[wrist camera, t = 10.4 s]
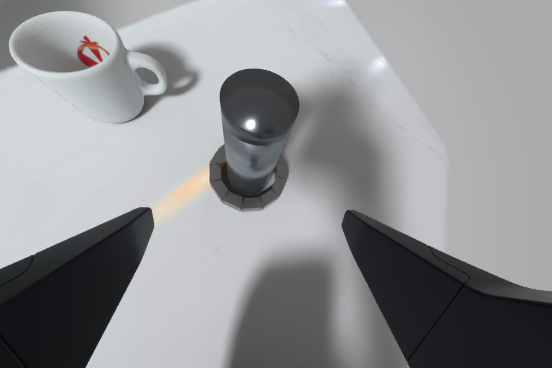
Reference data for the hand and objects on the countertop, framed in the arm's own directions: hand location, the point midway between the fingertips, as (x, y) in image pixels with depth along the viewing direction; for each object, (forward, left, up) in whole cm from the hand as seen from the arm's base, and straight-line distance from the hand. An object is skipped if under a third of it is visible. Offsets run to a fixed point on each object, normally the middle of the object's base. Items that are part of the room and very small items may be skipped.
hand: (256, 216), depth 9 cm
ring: (+8, -1, -14) cm, 16 cm away
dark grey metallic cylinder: (+7, -1, -14) cm, 16 cm away
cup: (+18, +13, -14) cm, 26 cm away
